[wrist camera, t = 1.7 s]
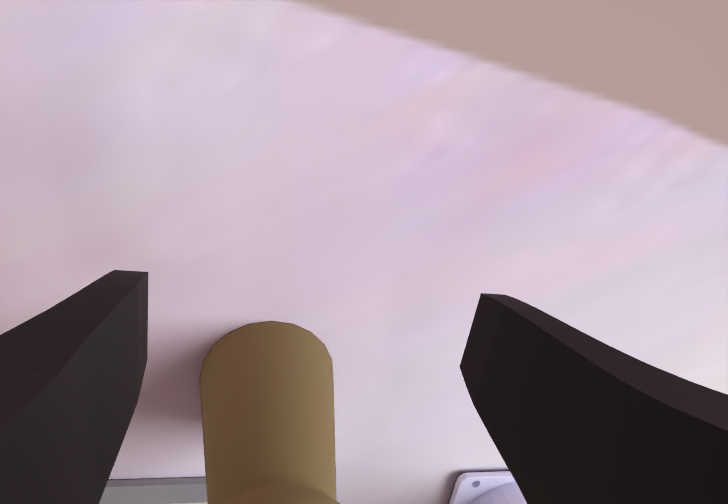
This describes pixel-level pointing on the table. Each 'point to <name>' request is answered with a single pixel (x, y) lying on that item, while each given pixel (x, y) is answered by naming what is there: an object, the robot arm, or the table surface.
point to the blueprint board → (156, 491)
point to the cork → (269, 417)
